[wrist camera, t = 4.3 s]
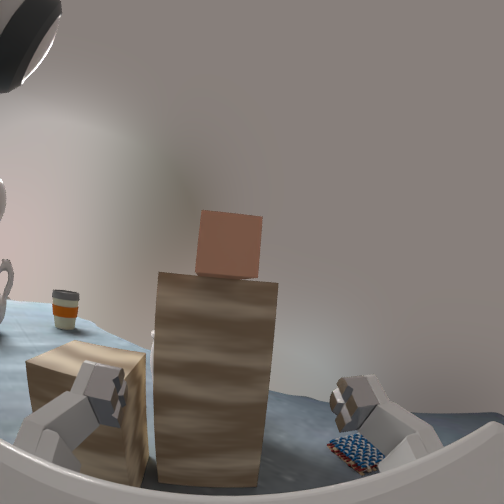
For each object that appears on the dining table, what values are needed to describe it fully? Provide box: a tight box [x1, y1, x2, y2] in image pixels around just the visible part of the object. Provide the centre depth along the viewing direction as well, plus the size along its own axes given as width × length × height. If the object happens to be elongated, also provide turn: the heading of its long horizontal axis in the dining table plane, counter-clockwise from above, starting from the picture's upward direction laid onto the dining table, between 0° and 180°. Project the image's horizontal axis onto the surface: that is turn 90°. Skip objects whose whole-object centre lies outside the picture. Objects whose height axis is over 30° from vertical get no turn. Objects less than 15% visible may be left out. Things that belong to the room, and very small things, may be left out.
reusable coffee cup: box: [52, 290, 79, 330], centre depth 95 cm, size 13×13×15 cm
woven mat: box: [327, 433, 386, 476], centre depth 33 cm, size 10×11×2 cm
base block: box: [26, 340, 149, 488], centre depth 23 cm, size 12×10×16 cm
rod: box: [195, 210, 263, 280], centre depth 32 cm, size 28×4×4 cm, turn 10°
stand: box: [153, 272, 278, 487], centre depth 34 cm, size 16×12×26 cm
